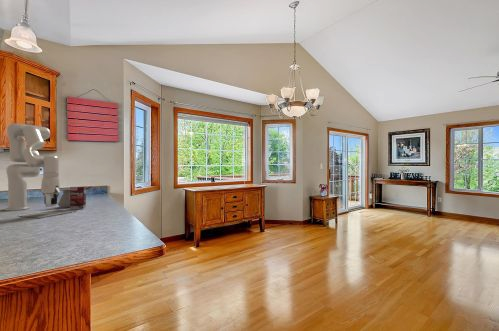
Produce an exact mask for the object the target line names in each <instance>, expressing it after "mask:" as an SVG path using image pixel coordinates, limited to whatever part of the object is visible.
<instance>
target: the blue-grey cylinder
mask: <svg viewBox="0 0 499 331" xmlns="http://www.w3.org/2000/svg"><path fill="white" fill-rule="evenodd" d="M54 195H55V194H54ZM51 198H52V195H51V194H47V193H46V204H45V207H46V208H50V207H56V206H57V204H53V205H51Z"/></svg>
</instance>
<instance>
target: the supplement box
mask: <svg viewBox="0 0 499 331" xmlns="http://www.w3.org/2000/svg"><path fill="white" fill-rule="evenodd" d="M86 188H87V186H70V187H69V190H70V208H69V211H72V210H85V209H86V208H87V189H86Z"/></svg>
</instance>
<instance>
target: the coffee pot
mask: <svg viewBox="0 0 499 331" xmlns="http://www.w3.org/2000/svg"><path fill="white" fill-rule="evenodd" d="M90 188H91V189H93V186H87V187H86V190H89V189H90ZM57 205H58V206H59V207H60V208H61V209H68V208H69V209H70V189H62V195H61V197H60V198H59V201H57Z"/></svg>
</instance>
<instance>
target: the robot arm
mask: <svg viewBox="0 0 499 331" xmlns="http://www.w3.org/2000/svg"><path fill="white" fill-rule="evenodd" d="M6 134H7V138H8V140H9V159H10V161H12V162H14V163H13V164H10V165H8V166H7V167H6V175H7V176H6V177H7V188H8V190H7V204H5V205H6V207H5V208H4V211H7V212H9V211H12V212H13V211H23V210H24V211H25V210H28V209H30V207H31V206H28V201H27V200H28V199H27V198H28V194H27V192H28V184H27V182H26V180H24V178H36V177H38V176H39V175H40V169H41V168H43V169H42V170H43V173H42V176H43V177H42V178H41V186H40V187H41V188H40V192H41V194H42V195H43V198H44V205H46V193H47V194H51V195H52V198H51V205H53V204H56V205H58V198H59V195H60V194H61V190H60V185H61V184H60V178H59V169H60V168H59V164H60V161H59V160H60V159H59V157H58V156H55V155H40V153H39V151H38V150H40V149H43V148H44V147H45V144H46V142H45V141H44V140H47V139H49V138H50V137H51V131H50V129H49V128H47V127H45V126H39V125H34V124H33V125H32V124H27V123H9V124H8V125H7V127H6ZM23 137H24V138H25V139H24V138H23ZM25 163H26V164H25ZM54 194H55V195H54Z"/></svg>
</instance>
